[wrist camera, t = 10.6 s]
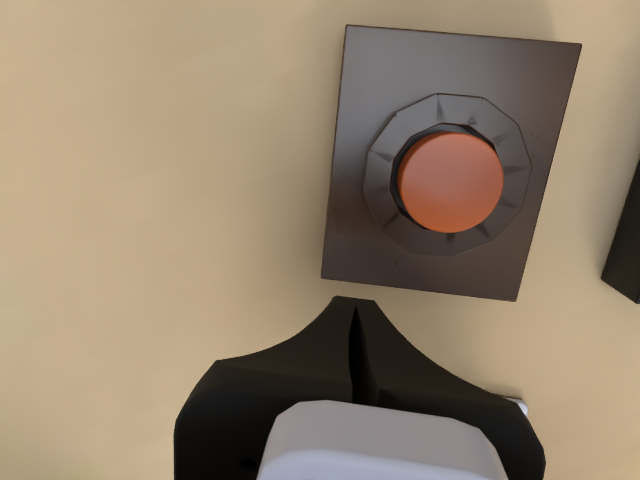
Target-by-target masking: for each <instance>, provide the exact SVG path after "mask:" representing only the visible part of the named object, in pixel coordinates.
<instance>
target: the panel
mask: <svg viewBox="0 0 640 480" xmlns="http://www.w3.org/2000/svg"><path fill="white" fill-rule="evenodd" d="M601 280H602V281H604V282H605V283H607V284H608V285H610V286H611V287H613V288H614V289H615V290H617V291H618V292H620V293H621V294H623V295H624V296H626V297H627V298H629V299H630V300H632V301H633V302H635V303H636V304H640V160H639V163H638V166H637V170H636V173H635V176H634V179H633V182H632V185H631V188H630V191H629V194H628V198H627V201H626V204H625V207H624V210H623V213H622V216H621V219H620V222H619V226H618V229H617V232H616V235H615V238H614V241H613V244H612V247H611V250H610V254H609V257H608V260H607V263H606V266H605V269H604V272H603V275H602V278H601Z"/></svg>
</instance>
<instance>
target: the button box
mask: <svg viewBox="0 0 640 480" xmlns="http://www.w3.org/2000/svg"><path fill="white" fill-rule="evenodd" d="M581 48H582V44H581V43H569V42H557V41H545V40H532V39H520V38H508V37H496V36H484V35H472V34H459V33H447V32H435V31H423V30H411V29H399V28H386V27H374V26H362V25H350V24H347V25H346V26H345V36H344V46H343V56H342V66H341V76H340V87H339V97H338V107H337V117H336V127H335V137H334V147H333V157H332V167H331V177H330V187H329V197H328V208H327V218H326V228H325V238H324V248H323V258H322V268H321V278H322V279H330V280H338V281H346V282H355V283H363V284H371V285H379V286H387V287H396V288H404V289H412V290H420V291H429V292H437V293H445V294H453V295H462V296H470V297H478V298H486V299H494V300H503V301H511V302H516V300H517V296H518V292H519V288H520V284H521V280H522V276H523V273H524V269H525V265H526V261H527V257H528V253H529V249H530V245H531V242H532V238H533V234H534V230H535V226H536V222H537V218H538V214H539V211H540V207H541V203H542V199H543V195H544V191H545V187H546V184H547V180H548V176H549V172H550V168H551V164H552V160H553V156H554V153H555V149H556V145H557V141H558V137H559V133H560V129H561V126H562V122H563V118H564V114H565V110H566V106H567V102H568V98H569V95H570V91H571V87H572V83H573V79H574V75H575V71H576V68H577V64H578V60H579V56H580V52H581ZM442 131H453V132H459V133H465V134H470V135H473V136H476V137H478V138H480V139H482V140H483V141H485V142H486V143H487V144H488V145H489V146H491V147H492V149H493V150H494V151H495V152H496V154H497V156H498V157H499V159H500V162H501V164H502V168H503V174H504V184H503V190H502V194H501V197H500V199H499V201H498V203H497V205H496V207H495V208H494V210H493V211H492V212H491V213H490V214H489V215H488V216H487V217H486V218H485V219H484V220H483V221H482V222H480V223H479V224H477V225H475V226H474V227H471V228H469V229H467V230H464V231H460V232H453V233H443V232H437V231H433V230H430V229H428V228H426V227H424V226H422V225H421V224H419V223H418V222H417V221H415V220H414V219H413V217H412V216H411V215H410V214H409V212H408V211H407V209H406V207H405V205H404V203H403V201H402V199H401V197H400V194H399V191H398V186H397V175H398V170H399V166H400V163H401V161H402V159H403V157H404V155H405V154H406V152H407V151H408V150H409V149H410V148H411V146H413V145H414V144H415V143H416V142H417V141H419V140H420V139H422V138H423V137H425V136H427V135H430V134H433V133H437V132H442Z"/></svg>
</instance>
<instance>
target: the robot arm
mask: <svg viewBox="0 0 640 480" xmlns="http://www.w3.org/2000/svg"><path fill="white" fill-rule="evenodd" d="M527 414H528V406H527V405H526V403H525V402H524V401H523V400H519V399H511V398H504V397H500V396H498V395H495V394H493V393H490V392H488V391H485V390H483V389H481V388H479V387H477V386H475V385H472V384H470V383H468V382H466V381H464V380H462V379H461V378H459V377H457V376H455V375H453V374H452V373H450V372H449V371H447V370H445V369H444V368H442V367H441V366H439V365H437V364H436V363H435V362H433V361H432V360H430V359H429V358H428V357H426V356H425V355H424V354H423V353H421V352H420V351H419V350H418V349H416V348H415V347H414V346H413V345H412V344H411V343H410V342H409V341H408V340H407V339H406V338H405V337H404V336H403V335H402V334H401V333H400V332H399V331H398V330H397V329H396V328H395V327H394V325H393V324H392V323H391V322H390V321H389V320H388V318H387V317H386V316H385V314H384V313H383V312H382V310H381V309H380V308H379V306H378V305H377V304H376V302H375V301H373V300H366V299H358V298H351V297H343V296H335V297H333V298H332V300H331V302H330V303H329V304H328V306H327V307H326V308H325V309H324V310H323V311H322V313H321V314H320V315H319V316H318V317H317V318H316V319H315V320H314V321H312V322H311V323H310V324H309V325H308V326H307V327H305V328H304V329H303V330H302V331H300V332H299V333H298V334H296V335H295V336H293V337H291V338H290V339H288V340H286V341H284V342H282V343H279V344H277V345H275V346H273V347H271V348H268V349H265V350H262V351H259V352H256V353H252V354H249V355H245V356H240V357H234V358H229V359H223V360H216V361H215V362H214V363H213V365H212V366H211V367H210V368H209V370H208V371H207V372H206V373H205V374H204V375H203V377H202V378H201V379H200V381H199V382H198V383H197V384H196V386H195V388H194V389H193V391H192V392H191V394H190V396H189V397H188V399H187V401H186V402H185V404H184V406H183V408H182V410H181V411H180V413H179V415H178V417H177V419H176V422H175V429H174V480H543V477H544V471H545V465H546V461H545V455H544V450H543V447H542V445H541V443H540V441H539V439H538V438H537V436H536V434H535V432H534V430H533V428H532V426H531V424H530V422H529V420H528V419H527Z"/></svg>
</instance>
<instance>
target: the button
mask: <svg viewBox="0 0 640 480" xmlns="http://www.w3.org/2000/svg"><path fill="white" fill-rule="evenodd" d="M503 184H504V174H503V168H502V164H501V162H500V159H499V157H498V156H497V154H496V152H495V151H494V150H493V149H492V147H491V146H489V145H488V144H487V143H486V142H485V141H483V140H482V139H480V138H478V137H476V136H473V135H470V134H465V133H459V132H453V131H442V132H437V133H433V134H430V135H427V136H425V137H423V138H422V139H420V140H419V141H417V142H416V143H415V144H414V145H413V146H411V148H410V149H409V150H408V151H407V152H406V154H405V155H404V157H403V159H402V161H401V163H400V166H399V170H398V175H397V186H398V191H399V194H400V197H401V199H402V201H403V203H404V205H405V207H406V209H407V211H408V212H409V214H410V215H411V216H412V217H413V219H414V220H415V221H417V222H418V223H419V224H421V225H422V226H424V227H426V228H428V229H430V230H433V231H437V232H443V233H453V232H460V231H464V230H467V229H469V228H471V227H474V226H475V225H477V224H479V223H480V222H482V221H483V220H484V219H485V218H486V217H487V216H488V215H489V214H490V213H491V212H492V211H493V210H494V208H495V207H496V205H497V203H498V201H499V199H500V197H501V194H502V190H503Z"/></svg>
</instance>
